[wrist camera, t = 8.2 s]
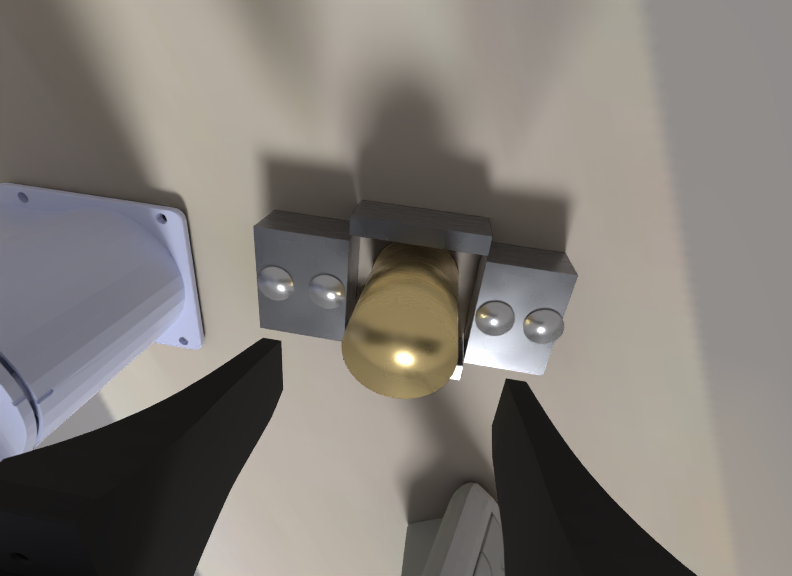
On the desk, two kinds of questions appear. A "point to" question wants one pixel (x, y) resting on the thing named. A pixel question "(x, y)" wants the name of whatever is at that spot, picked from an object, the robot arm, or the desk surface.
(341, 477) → the desk surface
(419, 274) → the link pin
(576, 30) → the desk surface
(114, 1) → the desk surface
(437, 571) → the digital clock
